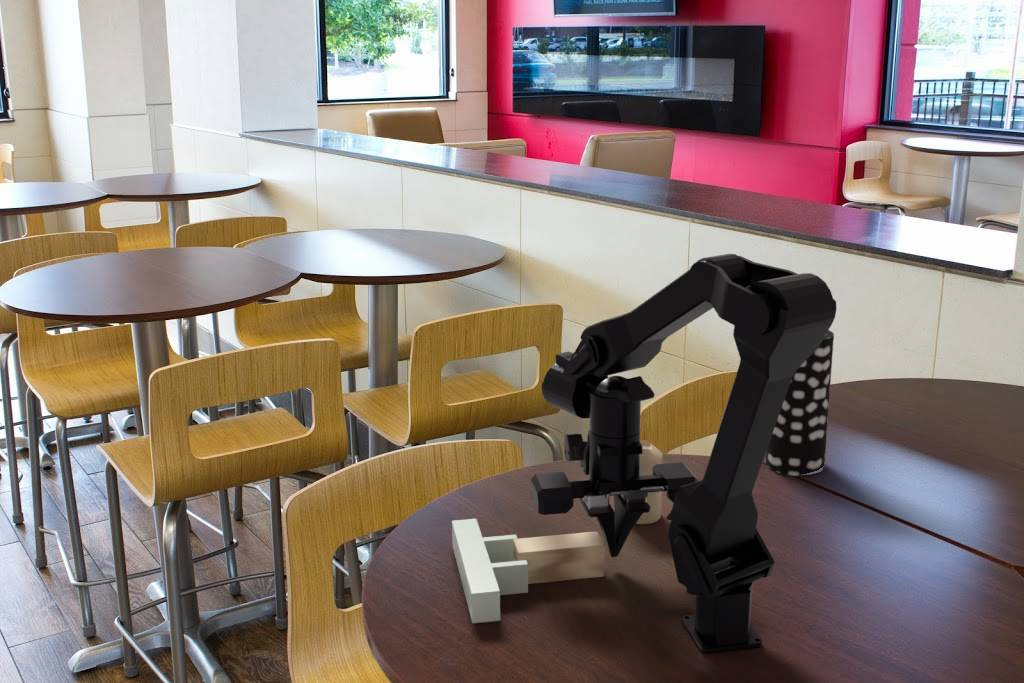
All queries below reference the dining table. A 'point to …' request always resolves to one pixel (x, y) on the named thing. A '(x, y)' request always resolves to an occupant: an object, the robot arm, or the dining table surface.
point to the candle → (647, 462)
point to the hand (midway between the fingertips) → (613, 555)
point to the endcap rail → (486, 569)
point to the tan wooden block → (561, 556)
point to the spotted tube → (804, 416)
